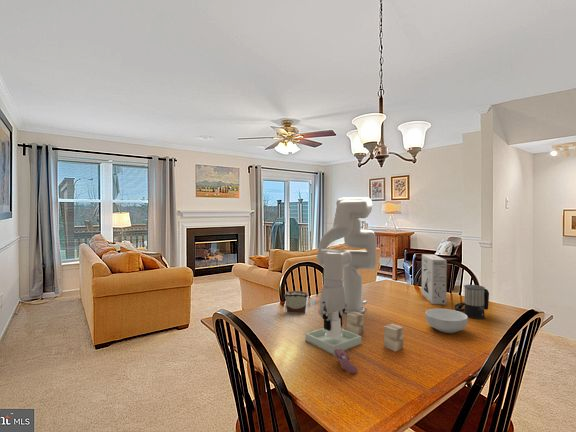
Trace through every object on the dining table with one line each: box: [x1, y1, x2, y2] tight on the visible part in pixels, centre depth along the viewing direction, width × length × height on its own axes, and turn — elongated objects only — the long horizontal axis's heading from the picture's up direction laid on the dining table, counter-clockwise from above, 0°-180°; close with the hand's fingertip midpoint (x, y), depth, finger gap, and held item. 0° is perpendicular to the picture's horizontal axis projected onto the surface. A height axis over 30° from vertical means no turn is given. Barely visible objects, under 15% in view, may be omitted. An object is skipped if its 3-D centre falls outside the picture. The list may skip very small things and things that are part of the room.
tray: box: [304, 327, 362, 356], centre depth 127 cm, size 16×16×3 cm
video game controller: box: [333, 348, 358, 374], centre depth 107 cm, size 10×5×7 cm, turn 6°
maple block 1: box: [346, 311, 365, 336], centre depth 138 cm, size 5×5×8 cm
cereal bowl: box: [425, 308, 469, 334], centre depth 141 cm, size 17×17×7 cm
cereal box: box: [421, 253, 448, 306], centre depth 188 cm, size 22×8×25 cm, turn 172°
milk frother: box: [454, 284, 490, 320], centre depth 162 cm, size 14×16×15 cm
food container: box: [283, 290, 309, 315], centre depth 166 cm, size 12×6×10 cm, turn 84°
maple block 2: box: [383, 323, 404, 352], centre depth 123 cm, size 5×5×8 cm
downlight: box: [322, 311, 344, 338], centre depth 127 cm, size 8×7×10 cm
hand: (333, 327), depth 127 cm, fingers closed on downlight, 5 cm apart
